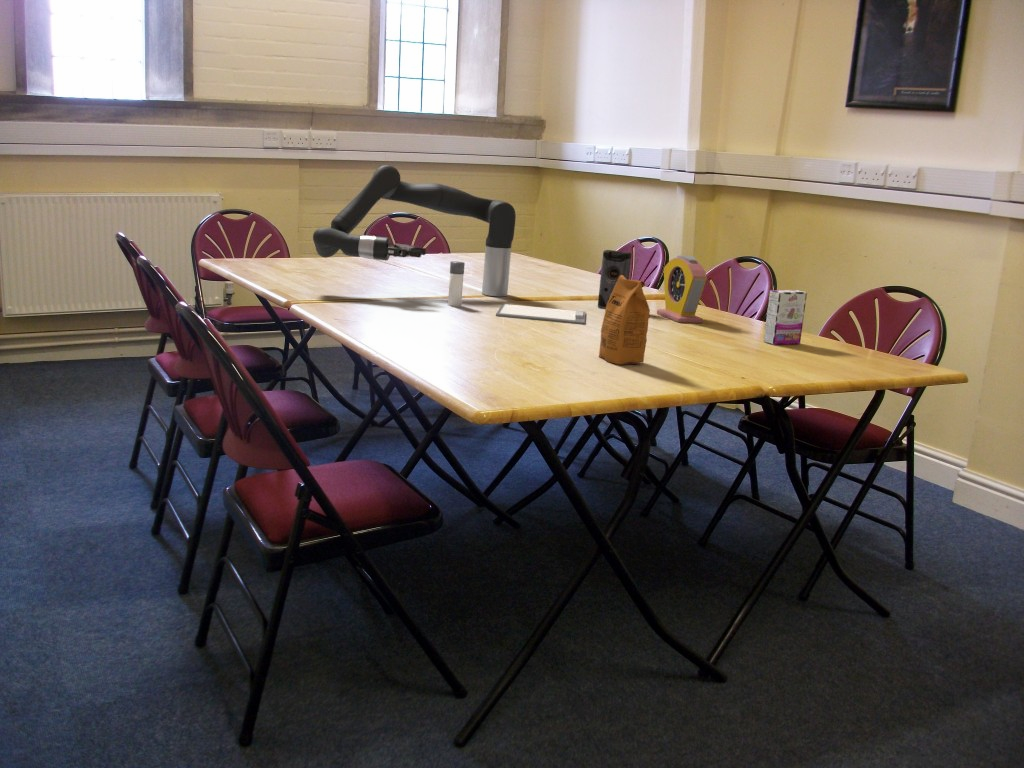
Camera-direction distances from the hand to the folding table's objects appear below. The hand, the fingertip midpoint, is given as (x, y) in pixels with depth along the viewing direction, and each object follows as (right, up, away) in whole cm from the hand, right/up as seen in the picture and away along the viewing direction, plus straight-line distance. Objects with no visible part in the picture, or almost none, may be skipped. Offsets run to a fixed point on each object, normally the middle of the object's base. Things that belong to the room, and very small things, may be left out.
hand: (423, 252), depth 319 cm
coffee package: (+57, -37, -62) cm, 92 cm away
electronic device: (+64, -16, +24) cm, 70 cm away
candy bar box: (+112, -30, -16) cm, 117 cm away
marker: (+10, -17, +3) cm, 20 cm away
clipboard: (+39, -20, -1) cm, 44 cm away
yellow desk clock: (+86, -21, +15) cm, 90 cm away
